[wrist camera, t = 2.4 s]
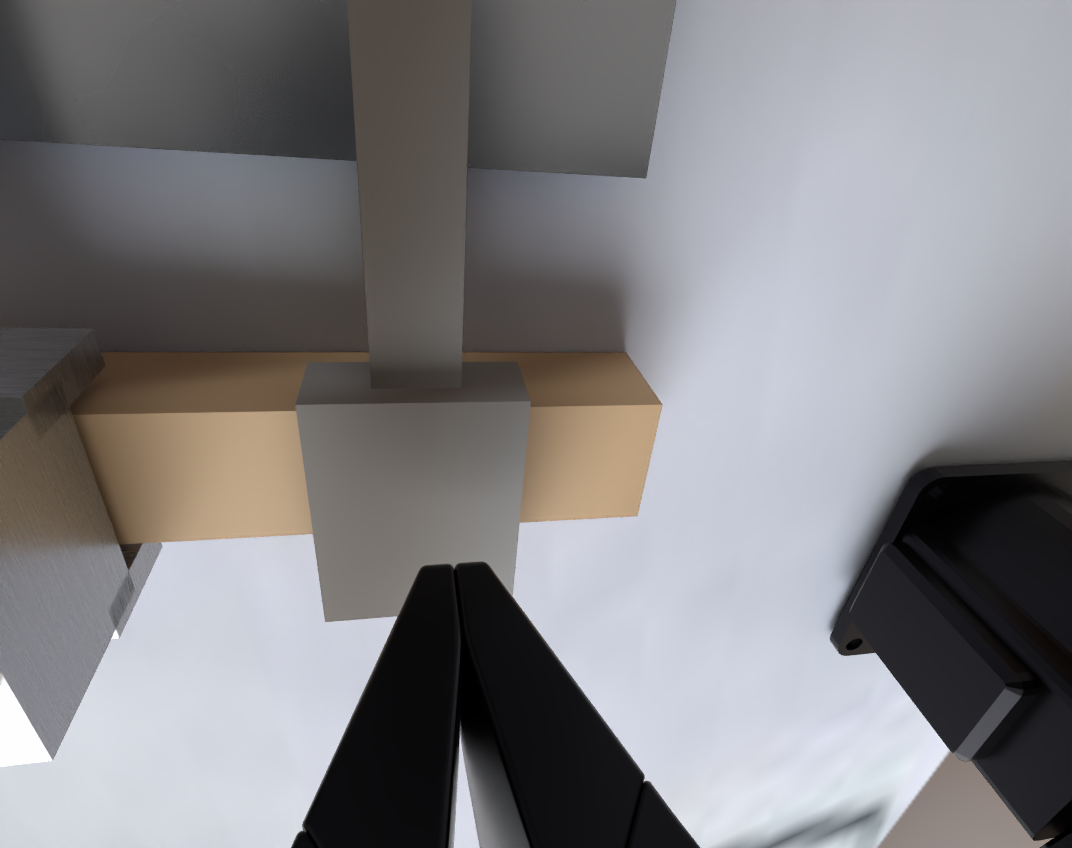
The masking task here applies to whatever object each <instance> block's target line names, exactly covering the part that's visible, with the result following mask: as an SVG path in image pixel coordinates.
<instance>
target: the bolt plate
mask: <svg viewBox="0 0 1072 848" xmlns="http://www.w3.org/2000/svg"><path fill="white" fill-rule="evenodd" d="M675 6H676V0H471V36H470V74H469V113H468V152H467V168H484V169H501V170H517V171H534V172H550V173H567V174H584V175H600V176H617V177H633V178H646V176H647V170H648V164H649V158H650V152H651V146H652V140H653V135H654V129H655V123H656V117H657V111H658V105H659V99H660V94H661V88H662V82H663V76H664V70H665V64H666V58H667V52H668V47H669V41H670V35H671V29H672V23H673V17H674V11H675ZM0 139H3V140H19V141H36V142H52V143H69V144H86V145H102V146H119V147H135V148H152V149H169V150H185V151H202V152H218V153H235V154H252V155H268V156H285V157H301V158H318V159H335V160H351V161H357V154H356V138H355V122H354V106H353V89H352V73H351V57H350V41H349V25H348V9H347V0H0Z"/></svg>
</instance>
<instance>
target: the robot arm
mask: <svg viewBox="0 0 1072 848" xmlns="http://www.w3.org/2000/svg"><path fill="white" fill-rule="evenodd" d="M830 640H831V643H832V644H833V645H834V647H835V648H836V650H837V651H838V653H839V654H841V655H844V656H850V655H859V654H868V653H876V654H877V655H878V656H879V658H880V659H881V660H882V662H883V663H884V664H885V665H886V667H887V668H888V669H889V671H890V672H891V673H892V675H893V676H894V677H895V679H896V680H897V681H898V683H899V684H900V685H901V687H902V688H903V689H904V690H905V692H906V693H907V694H908V696H909V697H910V698H911V700H912V701H913V702H914V704H915V705H916V706H917V708H918V709H919V710H920V711H921V713H922V714H923V715H924V717H925V718H926V719H927V721H928V722H929V723H930V725H931V726H932V727H933V729H934V730H935V731H936V733H937V734H938V735H939V736H940V738H941V739H942V740H943V742H944V743H945V744H946V746H947V747H948V748H949V750H950V751H951V752H952V753H953V754H954V755H955V756H956V757H957V758H958V759H960V760H962V761H965V762H967V761H972V762H973V763H974V765H975V766H976V767H977V769H978V770H979V771H980V772H981V774H982V775H983V776H984V778H985V779H986V780H987V781H988V783H989V784H990V785H991V786H992V788H993V789H994V790H995V792H996V793H997V794H998V795H999V797H1000V798H1001V799H1002V801H1003V802H1004V803H1005V804H1006V806H1007V807H1008V808H1009V809H1010V811H1011V812H1012V813H1013V815H1014V816H1015V817H1016V819H1017V820H1018V821H1019V822H1020V824H1021V825H1022V826H1023V828H1024V829H1025V830H1026V831H1027V833H1028V834H1029V835H1030V837H1031V838H1032V839H1033V840H1034V841H1036V840H1044V839H1049V838H1053V839H1052V840H1050V841H1049V842H1047V843H1046V844H1044V845H1043V846H1041V847H1040V848H1072V461H1065V462H1041V463H1018V464H994V465H971V466H947V467H931V468H926V469H924V470H922V471H920V472H918V473H917V474H916V475H914V476H913V477H912V478H911V479H910V481H909V482H908V484H907V485H906V487H905V489H904V491H903V493H902V495H901V497H900V499H899V501H898V503H897V505H896V507H895V509H894V511H893V513H892V515H891V517H890V519H889V521H888V523H887V525H886V527H885V529H884V531H883V533H882V535H881V537H880V539H879V540H878V542H877V544H876V546H875V548H874V550H873V552H872V554H871V556H870V558H869V560H868V562H867V564H866V566H865V568H864V570H863V572H862V574H861V576H860V578H859V580H858V582H857V584H856V586H855V588H854V590H853V592H852V594H851V596H850V598H849V600H848V602H847V604H846V606H845V608H844V610H843V612H842V614H841V616H840V618H839V620H838V622H837V623H836V625H835V627H834V629H833V631H832V633H831V636H830ZM460 734H461V743H462V750H463V756H464V762H465V768H466V773H467V779H468V784H469V790H470V796H471V801H472V807H473V812H474V818H475V823H476V829H477V834H478V840H479V846H480V848H700V847H699V845H698V844H697V843H696V842H695V840H694V839H693V838H692V836H691V835H690V834H689V833H688V831H687V830H686V829H685V828H684V826H683V825H682V824H681V822H680V821H679V820H678V819H677V817H676V816H675V815H674V813H673V812H672V811H671V809H670V808H669V807H668V805H667V804H666V803H665V801H664V800H663V799H662V797H661V796H660V795H659V793H658V792H657V790H656V789H655V788H654V786H653V785H652V784H651V782H649V781H645V782H644V774H643V772H642V771H641V769H640V768H639V767H638V765H637V764H636V763H635V761H634V760H633V759H632V757H631V756H630V755H629V753H628V752H627V750H626V749H625V748H624V746H623V745H622V744H621V742H620V741H619V740H618V738H617V737H616V736H615V734H614V733H613V732H612V730H611V729H610V728H609V726H608V725H607V724H606V722H605V721H604V719H603V718H602V717H601V715H600V714H599V713H598V711H597V710H596V709H595V707H594V706H593V705H592V703H591V702H590V701H589V699H588V698H587V697H586V695H585V694H584V692H583V691H582V690H581V688H580V687H579V686H578V684H577V683H576V682H575V680H574V679H573V678H572V676H571V675H570V674H569V672H568V671H567V670H566V668H565V667H564V666H563V664H562V663H561V661H560V660H559V659H558V657H557V656H556V655H555V653H554V652H553V651H552V649H551V648H550V647H549V645H548V644H547V643H546V641H545V640H544V639H543V637H542V636H541V634H540V633H539V632H538V630H537V629H536V628H535V626H534V625H533V624H532V622H531V621H530V620H529V618H528V617H527V616H526V614H525V613H524V612H523V610H522V609H521V607H520V606H519V605H518V603H517V602H516V601H515V599H514V598H513V597H512V595H511V594H510V593H509V591H508V590H507V589H506V587H505V586H504V585H503V583H502V582H501V581H500V579H499V578H498V576H497V575H496V574H495V572H494V571H493V570H492V568H491V567H490V566H489V565H488V564H487V563H486V562H483V561H480V562H465V563H458V564H457V565H456V566H455V568H454V567H453V566H452V565H451V564H435V565H424V566H423V567H421V568H420V570H419V572H418V574H417V576H416V578H415V580H414V582H413V585H412V587H411V589H410V591H409V593H408V595H407V598H406V600H405V602H404V604H403V606H402V608H401V611H400V613H399V615H398V617H397V619H396V621H395V624H394V626H393V628H392V630H391V632H390V635H389V637H388V639H387V641H386V643H385V645H384V648H383V650H382V652H381V654H380V656H379V658H378V661H377V663H376V665H375V667H374V669H373V671H372V674H371V676H370V678H369V680H368V682H367V685H366V687H365V689H364V691H363V693H362V695H361V698H360V700H359V702H358V704H357V706H356V708H355V711H354V713H353V715H352V717H351V719H350V721H349V724H348V726H347V728H346V730H345V732H344V735H343V737H342V739H341V741H340V743H339V745H338V748H337V750H336V752H335V754H334V756H333V758H332V761H331V763H330V765H329V767H328V769H327V771H326V774H325V776H324V778H323V780H322V782H321V784H320V787H319V789H318V791H317V793H316V795H315V798H314V800H313V802H312V804H311V806H310V808H309V811H308V813H307V815H306V817H305V819H304V821H303V824H302V827H303V831H300V832H299V833H298V834H297V836H296V838H295V840H294V842H293V844H292V847H291V848H454V832H455V815H456V798H457V781H458V764H459V738H460ZM643 782H644V783H643ZM1054 837H1055V838H1054Z"/></svg>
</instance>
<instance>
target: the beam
mask: <svg viewBox="0 0 1072 848" xmlns="http://www.w3.org/2000/svg"><path fill="white" fill-rule="evenodd" d="M347 9H348V25H349V41H350V57H351V73H352V89H353V106H354V122H355V138H356V154H357V170H358V186H359V202H360V218H361V234H362V251H363V267H364V283H365V299H366V315H367V331H368V347H369V352H102V356H103V359H104V362H105V365H106V366H105V367H104V368H103V369H102V371H101V372H100V373H99V374H98V375H97V376H96V377H95V378H94V380H93V381H92V382H91V383H90V384H89V385H88V386H87V387H86V389H85V390H84V391H83V392H82V393H81V394H80V395H79V396H78V397H77V399H76V400H75V401H74V402H73V403H72V404H71V405H70V406H69V408H70V411H71V414H72V416H73V419H74V422H75V425H76V427H77V430H78V433H79V436H80V438H81V441H82V444H83V447H84V449H85V452H86V455H87V458H88V461H89V463H90V466H91V469H92V472H93V474H94V477H95V480H96V483H97V485H98V488H99V491H100V494H101V496H102V499H103V502H104V505H105V507H106V510H107V513H108V516H109V519H110V521H111V524H112V527H113V530H114V532H115V535H116V538H117V541H118V543H119V544H137V543H156V542H174V541H192V540H210V539H228V538H247V537H265V536H283V535H301V534H313V537H314V544H315V551H316V558H317V566H318V573H319V580H320V587H321V595H322V602H323V609H324V616H325V622H331V621H344V620H356V619H368V618H380V617H392V616H398V615H399V613H400V611H401V608H402V606H403V604H404V602H405V600H406V598H407V595H408V593H409V591H410V589H411V587H412V585H413V582H414V580H415V578H416V576H417V574H418V572H419V570H420V568H421V567H423V566H424V565H435V564H451V565H452V566H453V567H454V568H455V566H456V565H457V564H458V563H465V562H480V561H483V562H486V563H487V564H488V565H489V566H490V567H491V568H492V570H493V571H494V572H495V574H496V575H497V576H498V578H499V579H500V581H501V582H502V583H503V585H504V586H505V587H506V589H507V590H508V591H509V593H510V594H511V595H513V585H514V574H515V564H516V553H517V543H518V532H519V523H520V522H538V521H556V520H575V519H593V518H611V517H629V516H638V511H639V507H640V502H641V498H642V493H643V489H644V484H645V480H646V476H647V471H648V467H649V462H650V458H651V453H652V449H653V444H654V440H655V436H656V431H657V427H658V422H659V418H660V413H661V409H662V403H661V402H660V401H659V399H658V398H657V396H656V395H655V393H654V392H653V390H652V389H651V388H650V386H649V385H648V383H647V382H646V380H645V379H644V378H643V376H642V375H641V373H640V372H639V370H638V369H637V367H636V366H635V365H634V363H633V362H632V360H631V359H630V357H629V356H628V354H627V353H626V352H462V346H463V307H464V268H465V230H466V191H467V152H468V113H469V74H470V36H471V0H347Z"/></svg>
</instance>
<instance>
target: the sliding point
mask: <svg viewBox="0 0 1072 848" xmlns="http://www.w3.org/2000/svg"><path fill="white" fill-rule="evenodd" d="M105 366H106V365H105V362H104V359H103V356H102V352H101V349H100V346H99V343H98V340H97V336H96V333H95V330H94V328H7V327H0V767H3V766H11V765H20V764H29V763H37V762H46V761H53V759H54V757H55V755H56V753H57V750H58V748H59V746H60V744H61V742H62V740H63V738H64V736H65V734H66V732H67V730H68V728H69V726H70V723H71V721H72V719H73V717H74V715H75V713H76V711H77V709H78V707H79V705H80V703H81V701H82V699H83V696H84V694H85V692H86V690H87V688H88V686H89V684H90V682H91V680H92V678H93V676H94V674H95V672H96V669H97V667H98V665H99V663H100V661H101V659H102V657H103V655H104V653H105V651H106V649H107V647H108V645H109V642H110V640H111V639H116V638H120V636H121V634H122V632H123V629H124V627H125V625H126V623H127V621H128V619H129V617H130V614H131V612H132V610H133V608H134V606H135V604H136V602H137V600H138V597H139V595H140V593H141V591H142V589H143V587H144V585H145V582H146V580H147V578H148V576H149V574H150V572H151V570H152V567H153V565H154V563H155V561H156V559H157V557H158V555H159V553H160V550H161V548H162V544H161V542H156V543H137V544H119V543H118V541H117V538H116V535H115V532H114V530H113V527H112V524H111V521H110V519H109V516H108V513H107V510H106V507H105V505H104V502H103V499H102V496H101V494H100V491H99V488H98V485H97V483H96V480H95V477H94V474H93V472H92V469H91V466H90V463H89V461H88V458H87V455H86V452H85V449H84V447H83V444H82V441H81V438H80V436H79V433H78V430H77V427H76V425H75V422H74V419H73V416H72V414H71V411H70V408H69V406H70V405H71V404H72V403H73V402H74V401H75V400H76V399H77V397H78V396H79V395H80V394H81V393H82V392H83V391H84V390H85V389H86V387H87V386H88V385H89V384H90V383H91V382H92V381H93V380H94V378H95V377H96V376H97V375H98V374H99V373H100V372H101V371H102V369H103V368H104V367H105Z"/></svg>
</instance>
